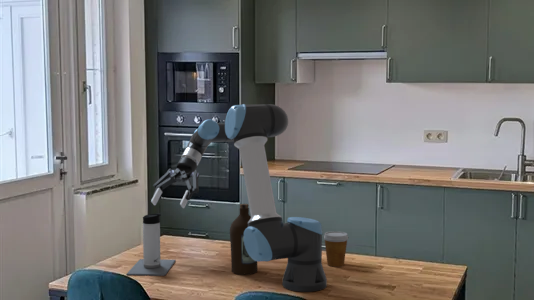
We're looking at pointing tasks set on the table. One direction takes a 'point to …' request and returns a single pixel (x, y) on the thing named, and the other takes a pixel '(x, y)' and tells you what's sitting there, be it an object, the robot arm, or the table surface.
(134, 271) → the rubber mat
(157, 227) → the travel mug
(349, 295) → the table surface
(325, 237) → the disposable coffee cup
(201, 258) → the table surface
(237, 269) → the olive oil
